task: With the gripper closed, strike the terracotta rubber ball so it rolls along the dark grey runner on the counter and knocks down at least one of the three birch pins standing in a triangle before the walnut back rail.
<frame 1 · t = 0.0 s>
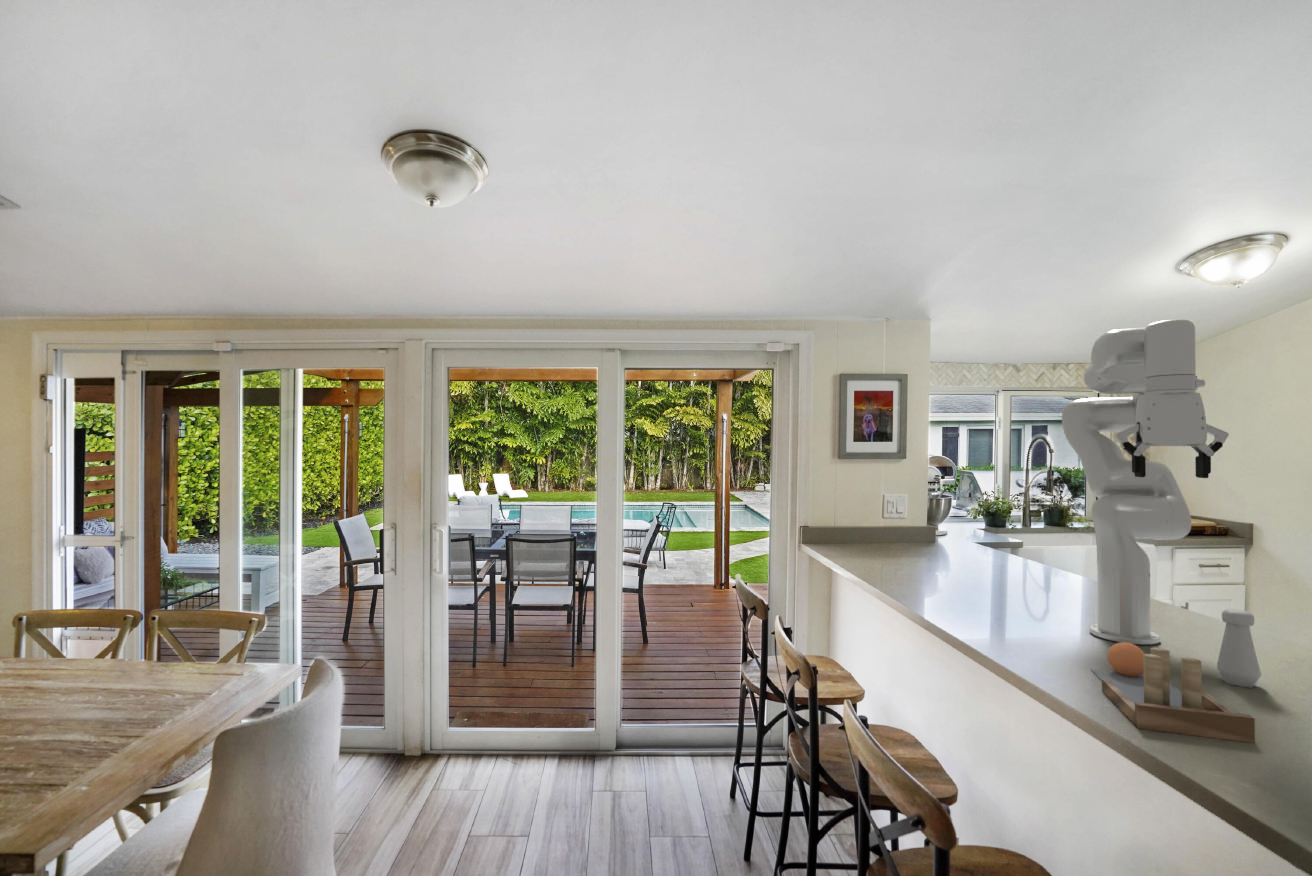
hand: (1170, 477, 118), 37 cm above the countertop, tool pointing down, fingers open, 9 cm apart
runner: (1155, 700, 105), on the countertop
lane rail: (1171, 714, 99), on the countertop
salt shaker: (1238, 684, 113), on the countertop
pin back right: (1153, 713, 100), on the countertop
pin back left: (1191, 717, 98), on the countertop
ball: (1127, 659, 116), on the countertop
pin front: (1160, 704, 103), on the countertop
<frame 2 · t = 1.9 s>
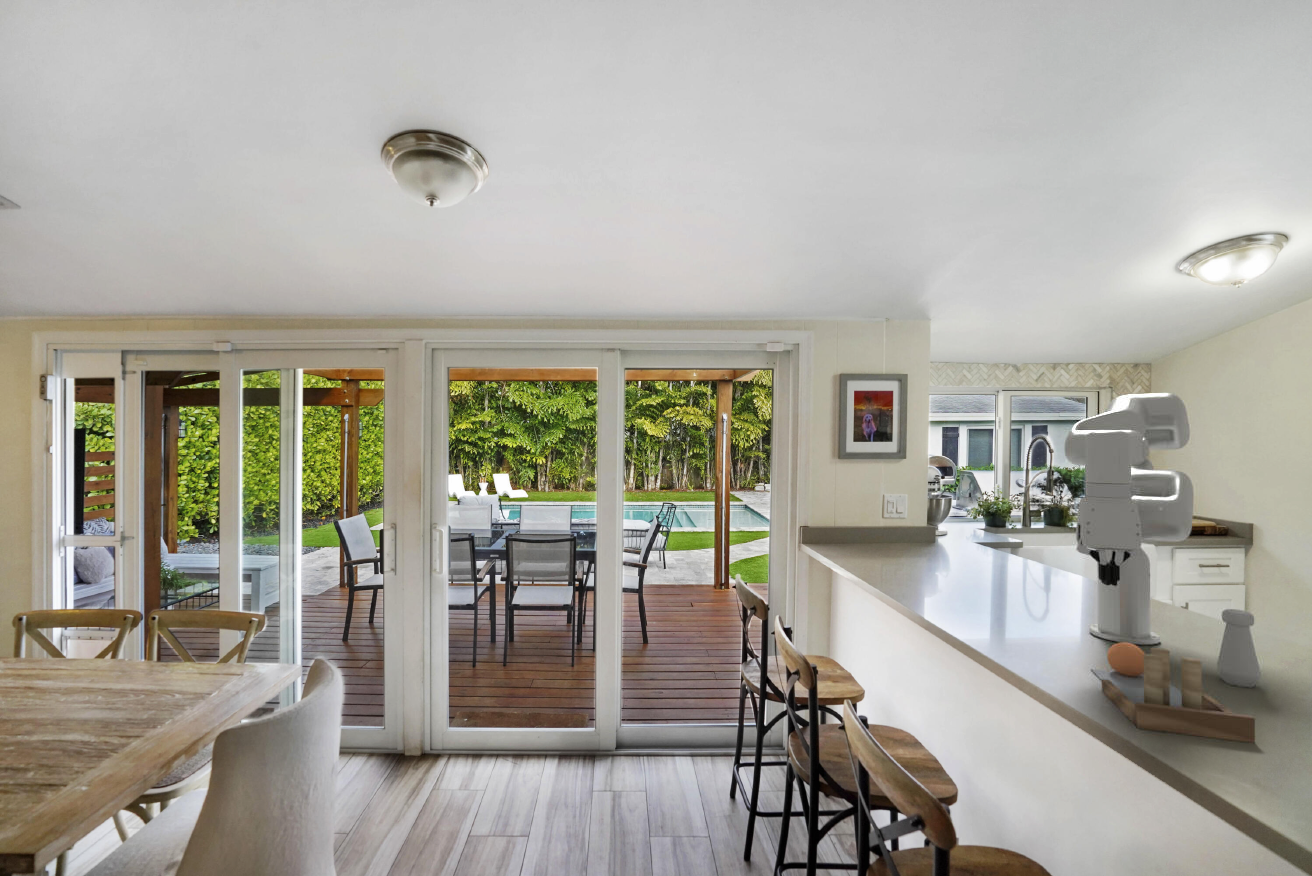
hand: (1109, 584, 125), 15 cm above the countertop, tool pointing down, fingers closed
nothing on the countertop moved.
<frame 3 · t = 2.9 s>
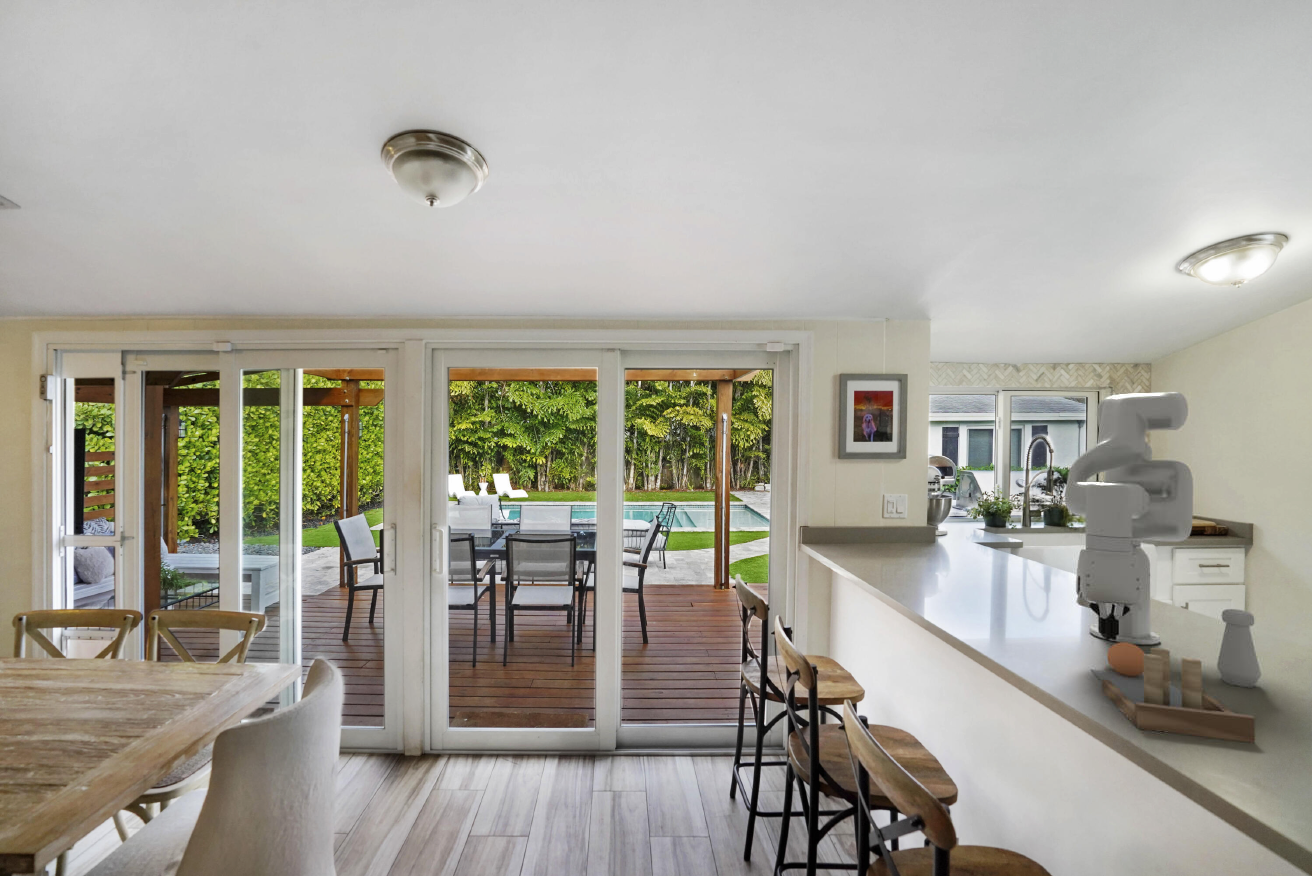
hand: (1108, 638, 124), 5 cm above the countertop, tool pointing down, fingers closed
nothing on the countertop moved.
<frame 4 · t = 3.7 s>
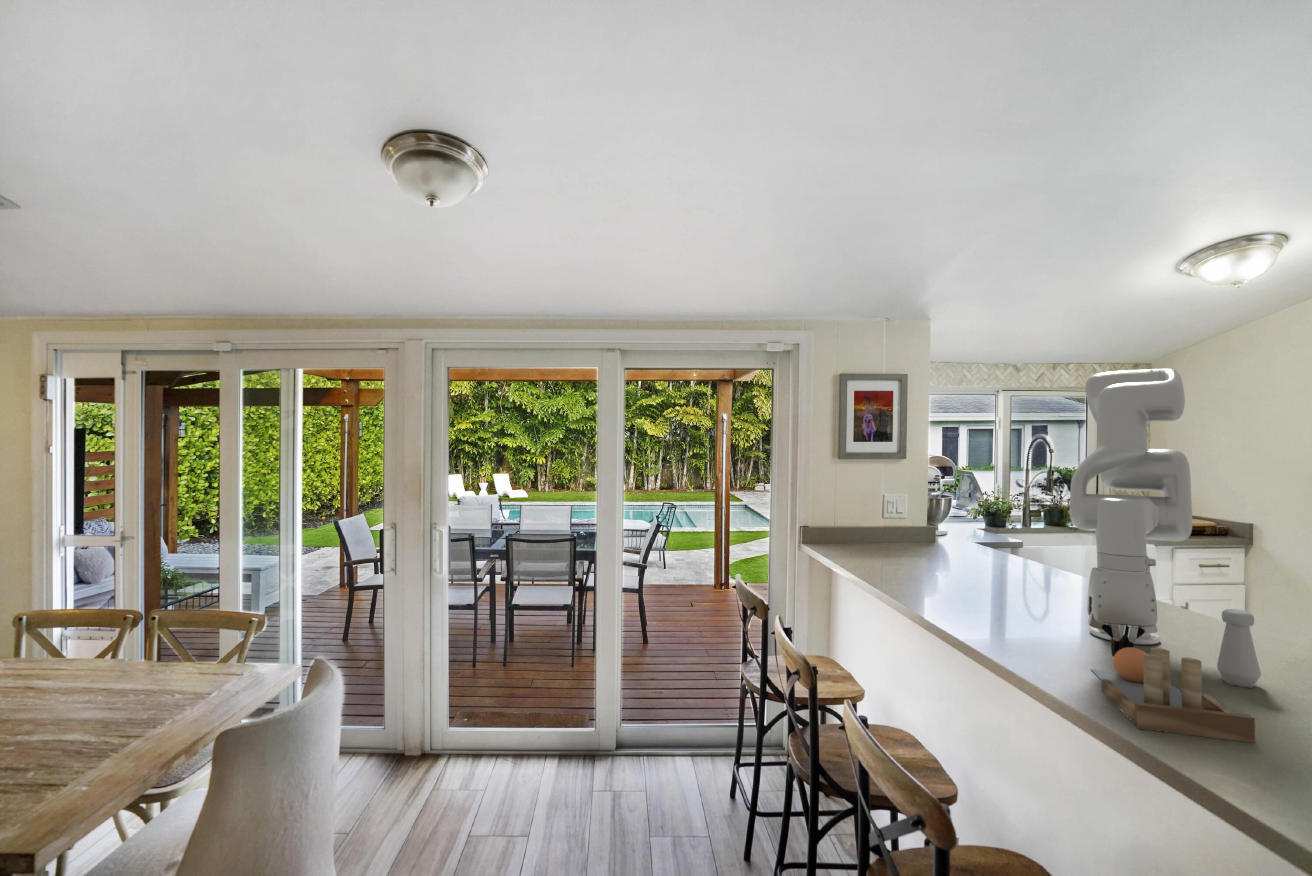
hand: (1122, 661, 118), 2 cm above the countertop, tool pointing down, fingers closed
ball: (1133, 664, 114), on the countertop
everything else where it was.
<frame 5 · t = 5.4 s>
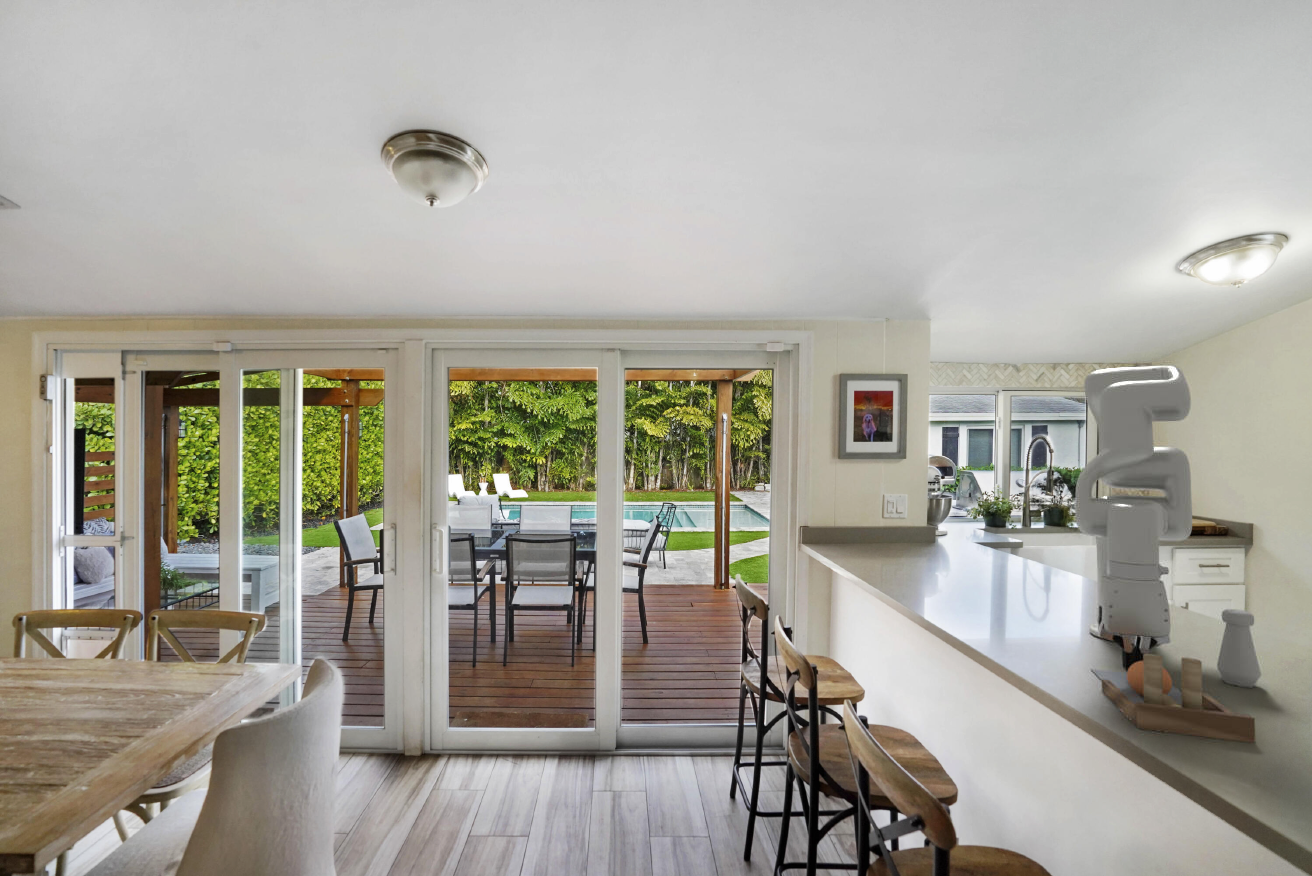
hand: (1133, 672, 114), 2 cm above the countertop, tool pointing down, fingers closed
ball: (1149, 679, 106), on the countertop
pin front: (1163, 701, 102), point 1 cm above the countertop, tilted 90°
everything else where it was.
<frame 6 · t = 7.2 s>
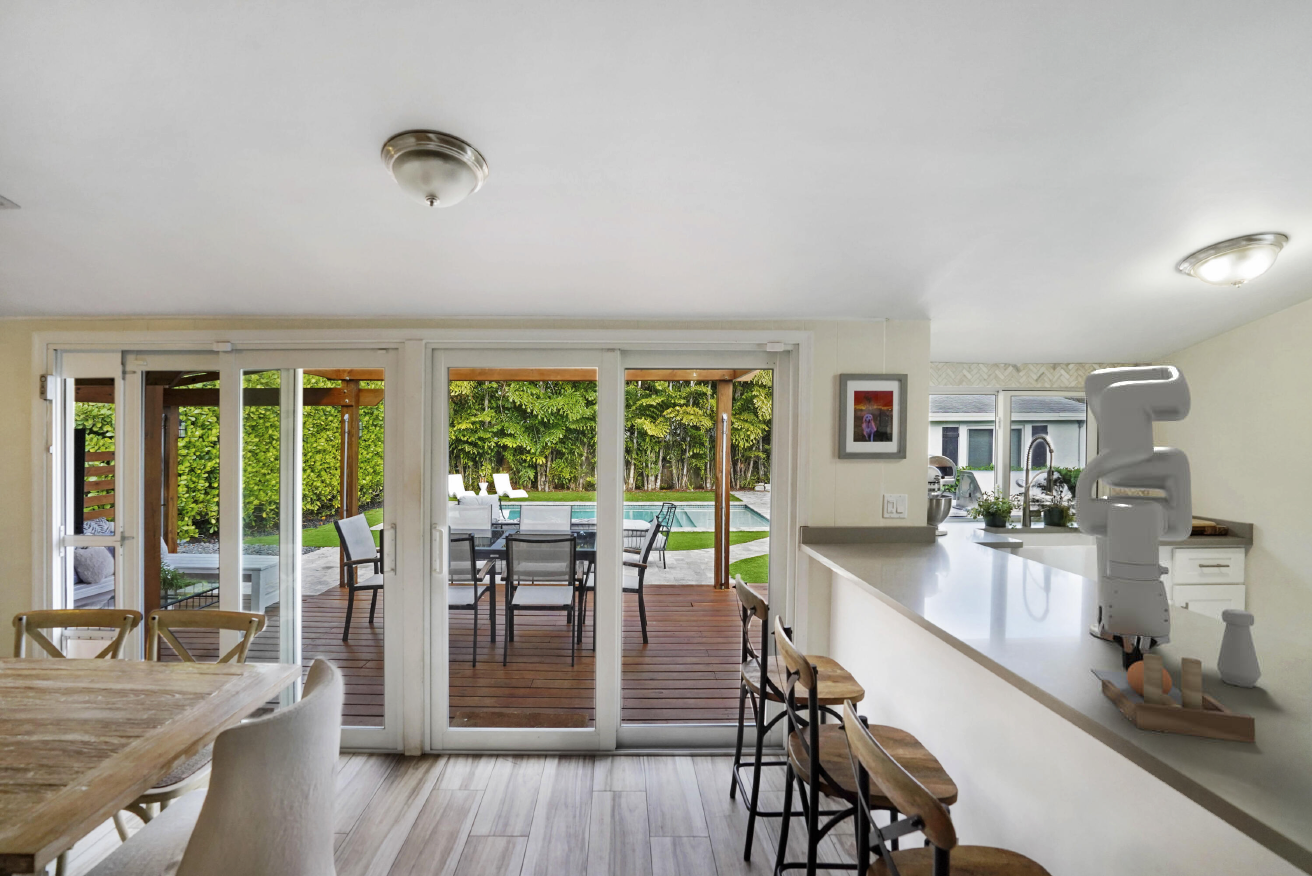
hand: (1133, 672, 114), 2 cm above the countertop, tool pointing down, fingers closed
nothing on the countertop moved.
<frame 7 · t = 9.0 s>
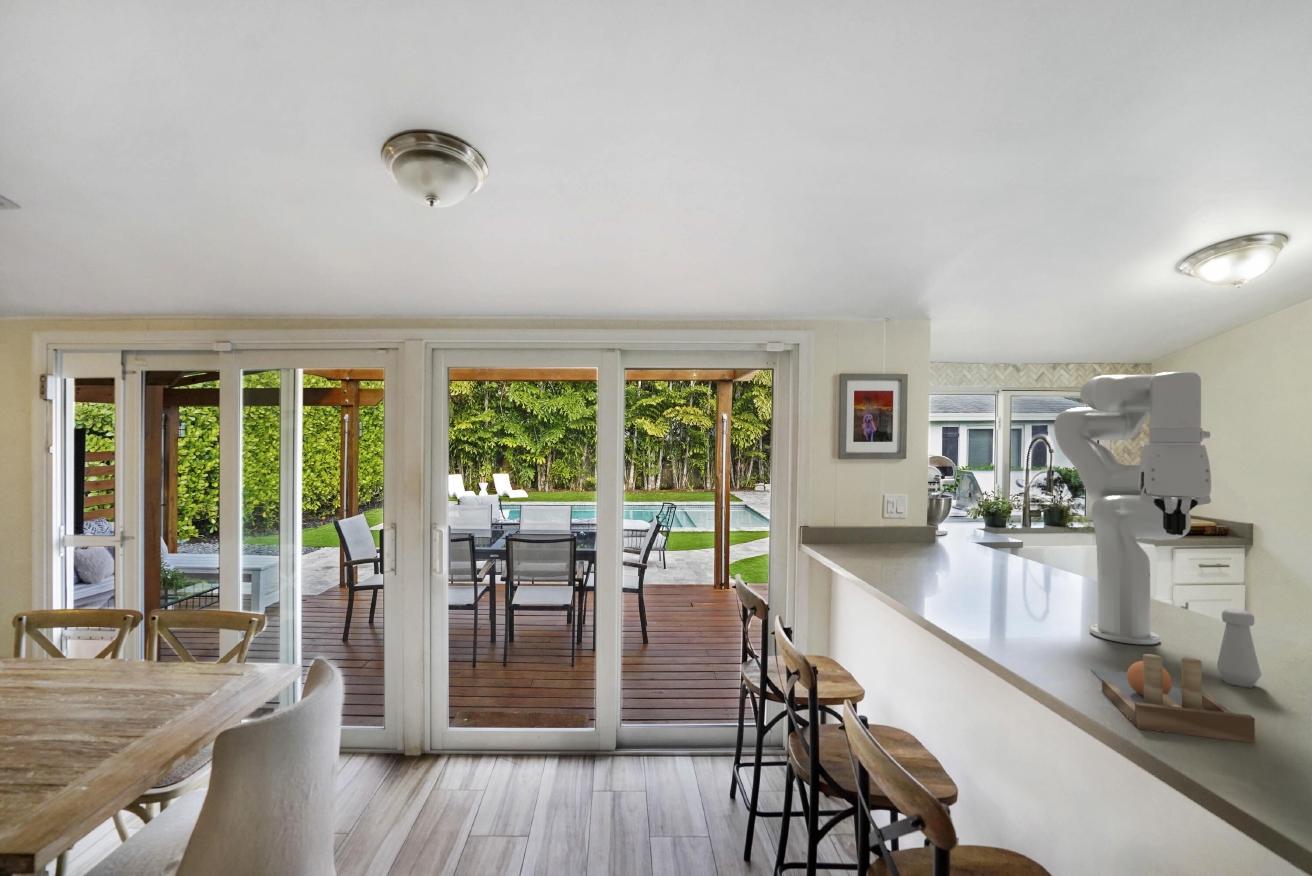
hand: (1174, 533, 119), 26 cm above the countertop, tool pointing down, fingers closed
nothing on the countertop moved.
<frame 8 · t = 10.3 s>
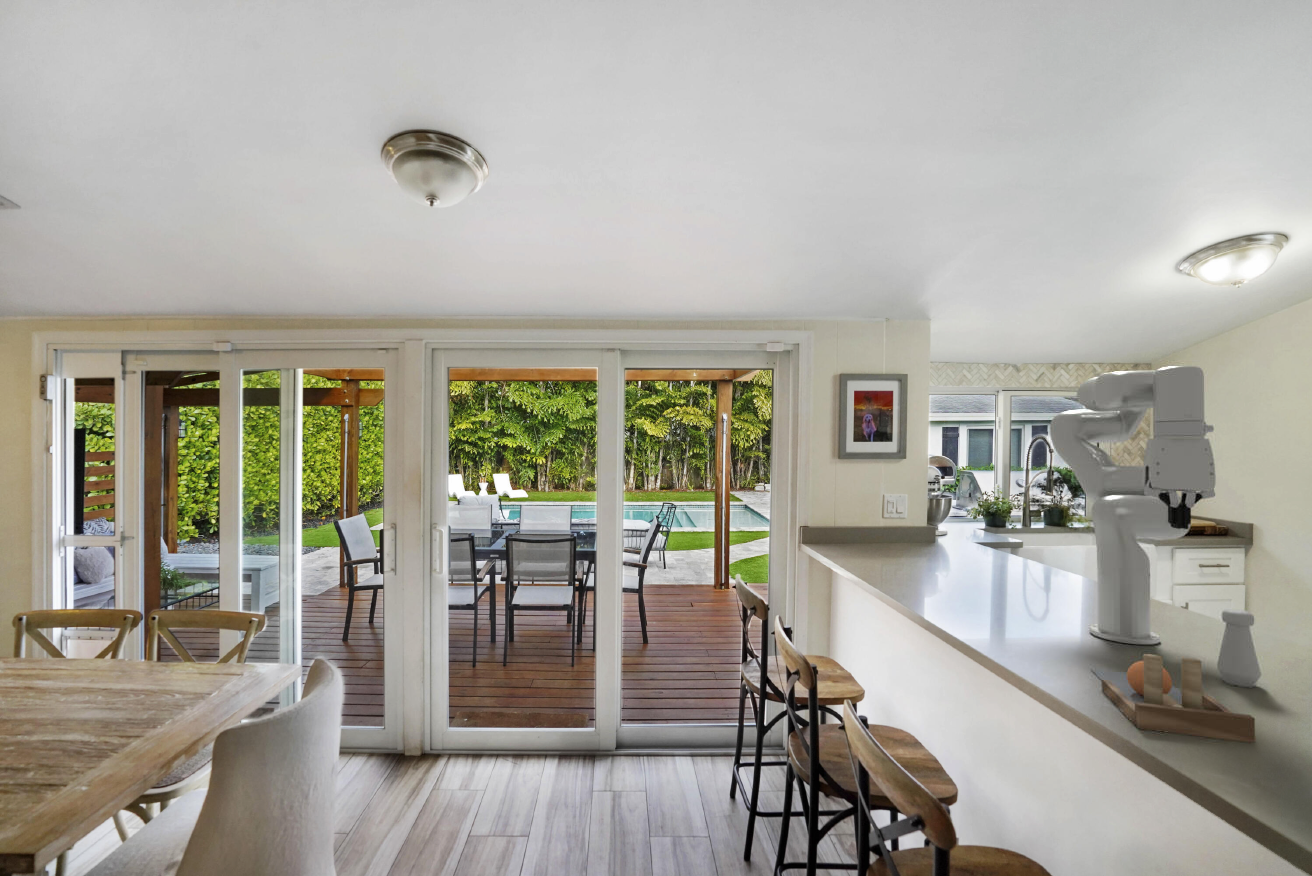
hand: (1179, 527, 119), 27 cm above the countertop, tool pointing down, fingers closed
nothing on the countertop moved.
at the end: 1 of 3 knocked over (down: pin front; still standing: pin back left, pin back right); pin front never touched the robot; ball moved 10.8 cm from its start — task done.
